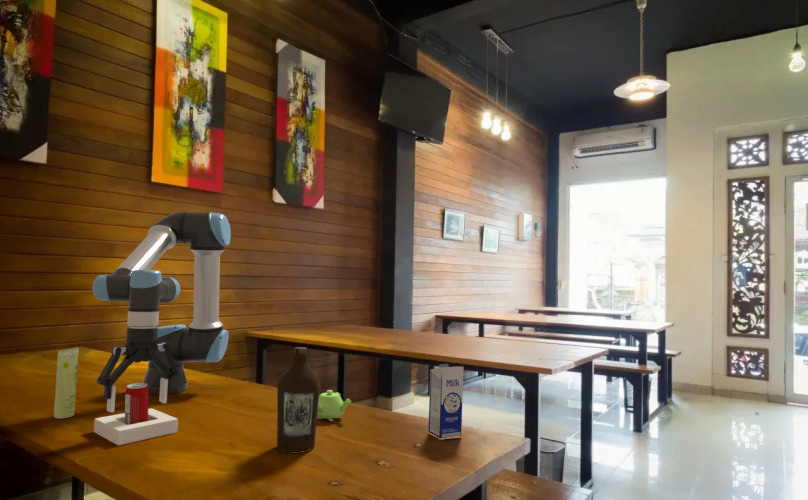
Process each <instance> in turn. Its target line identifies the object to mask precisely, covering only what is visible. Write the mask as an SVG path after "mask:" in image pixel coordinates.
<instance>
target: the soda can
mask: <svg viewBox="0 0 808 500" xmlns="http://www.w3.org/2000/svg"><path fill="white" fill-rule="evenodd" d="M148 391H149V390H148V387H147V384H146V383H142V382H136V383H130V384H128V385H127V386H126V389H125V392H124V394H125V395H124V413H125V424H127V425H131V424H136V423H141V422H146V421H148V409H149V394H148Z"/></svg>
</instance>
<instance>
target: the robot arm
mask: <svg viewBox="0 0 808 500" xmlns="http://www.w3.org/2000/svg"><path fill="white" fill-rule="evenodd" d="M230 225H231V224H230V222H229V220H228V218H227V216H226V215H225V214H223V213H218V212H217V213H216V212H212V211H211V212H200V211H199V212H198V211H177V212H174V213H171V214H169V215H166V216H165V217H163V218H161V219H159V220H158V221H156V222H155V223H154V224H153V225H152V226H151V227H150V228H149V229H148V230H147V235H146V237H145V238H144V239H143V240H141V242H140V243H139V244H138V245H137V246H136V247H135V249H134V250H132V252H131V253H130V254H129V255H128V256H127V257H126V259H125V260H124V261H122V262H121V264H120V265H119V266H118V267H117V268H116V269H115V271H113V273H111V274H108V273H107V274H100V275H98V276H96V278H94V281H93V284H92V293H93V296H94V298H96V300H99V301H107V302H128V310H127V321H126V322H127V323H126V324H127V326H128V328H127V329H126V336H125V337H126V339H125V340H126V341H125V346H124V347H123V346H116V345H115V346H113V347H112V350H111V355H110V357H109V358H108V360H107V362H106V364H105V365H104V367H103V369H102V371H101V373H100V374H99V376H98V378H97V379H96V383H97V384H98V385H101V386H104V388H103V389H104V391H103V398H104V399H105V400H107V401H106V412H109V413H115V406H116V403H115V402H116V393H117V392H116V390H117V389H116V388H117V385H114V384H115V383H116V382H117V381H118V380H119V378H120V377H121V376H122V375H123V373H124V372H125V371H127V369H128V368H129V367H130V366H131V365H132V364H133V363H137V364H138V363H143V362H144V363H147V362H148V364H147V365H148V366H147V371H146V373H145V376H144V377H143V381H142V382H141V383H146V384H147V387H148V390H149V391H148V395H159V399H158V401H159V402H160V403H162V404H167V402H168V401H167V400H168V395H170V394H172V395H173V394H178V393H181V392H185V391H186V390H187V389H188V385H189V383H188V380H187V376H186V372H185V370H184V364H185V362H190V363H191V362H193V363H194V362H197V363H206V364H207V363H218V362H220V361H221V360H222V359H223V357H224V356H225V354H226V351H227V349H228V344H229V337H230V336H229V335H230V334H229V331H228V330H226V329H224V324H223V323H222V322H221V321H220V279H221V276H220V274H221V273H220V270H221V256H222V255H221V254H222V253H224V252H225V247H227V246H229V245H230V244H231V237H232V233H231V226H230ZM176 245H189V249H190V252H192V253H193V254H194V262H193V263H194V264H193V265H194V269H193V271H194V273H193V321H192V322H190V323H189V325H188V328H187V326H186V324H183V323H182V324H181V323H180V324H172V325H163V326H159V322H160V321H159V319H160V306H161V305H160V304H168V303H171V302H173V301H175V300H176V299H177V298H178V297H179V296H180V293H181V285H180V283H179V282H178V280H177V279H176V278H174V277H171V276H162V272H161V271H160V270H157V269H156V270H154V269H153V267H154V266H155V265H156V263H158V262H159V260H160V259H161V258H162V257H163V255H164V253H166V252H167V250H170V249H173V247H175V246H176ZM123 354H126V355H125V357H123V359H122V361H121V362H120V363H119V365H117V364H118V362H119V359H120V358H121V356H122V355H123ZM116 365H117V366H116ZM115 366H116V367H115Z"/></svg>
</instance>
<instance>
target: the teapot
mask: <svg viewBox="0 0 808 500" xmlns="http://www.w3.org/2000/svg"><path fill="white" fill-rule="evenodd" d="M333 391H334V390H332V389H328V390H326V392H323V393H319V401H318V412H317V418H322V419H327V421H328V420H332V419H333V420H334V419H336V418H338V417H340V418H341V417H342V415H344V413H345V411H346V409H347V407H348V406H349V405H350V404H351V403H352V400H351V399H350V398H346V400H345V401H343V399H342V397H341V393H339V392H333Z"/></svg>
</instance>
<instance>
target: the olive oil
mask: <svg viewBox="0 0 808 500" xmlns="http://www.w3.org/2000/svg"><path fill="white" fill-rule="evenodd" d="M293 351H294V353H293V361H292V362H293V363H292V364H291V365H290V366H289V367H288V368H287V369H286V370H284V372H283V373H282V374H281V376H280V377H279V380H278V382H277V387H276V388H277V389H276V391H277V398H276V399H277V411H276V412H277V416H276V417H277V424H276V425H277V428H276V429H277V433H276V434H277V435H276V448H278V449H279V450H278V449H277V450H278V451H280V450H281V451H280V452H282V451H285V452H284V453H286V452H301V451H307V450H309V449H312V448H313V447H314V448H315V445H316V433H317V421H318V420H317V412H318V401H319V396H320V391H321V383H320V380H319V376H318V374H317V373H316V372H315V371H314V369H312V367H311V366H310V365H309V364H308V362H307V360H308V353H307V351H308V348H307V347H303V346H301V347H300V346H297V347H294V350H293ZM314 448H313V449H314ZM313 449H312V450H313ZM307 452H308V451H307Z"/></svg>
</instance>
